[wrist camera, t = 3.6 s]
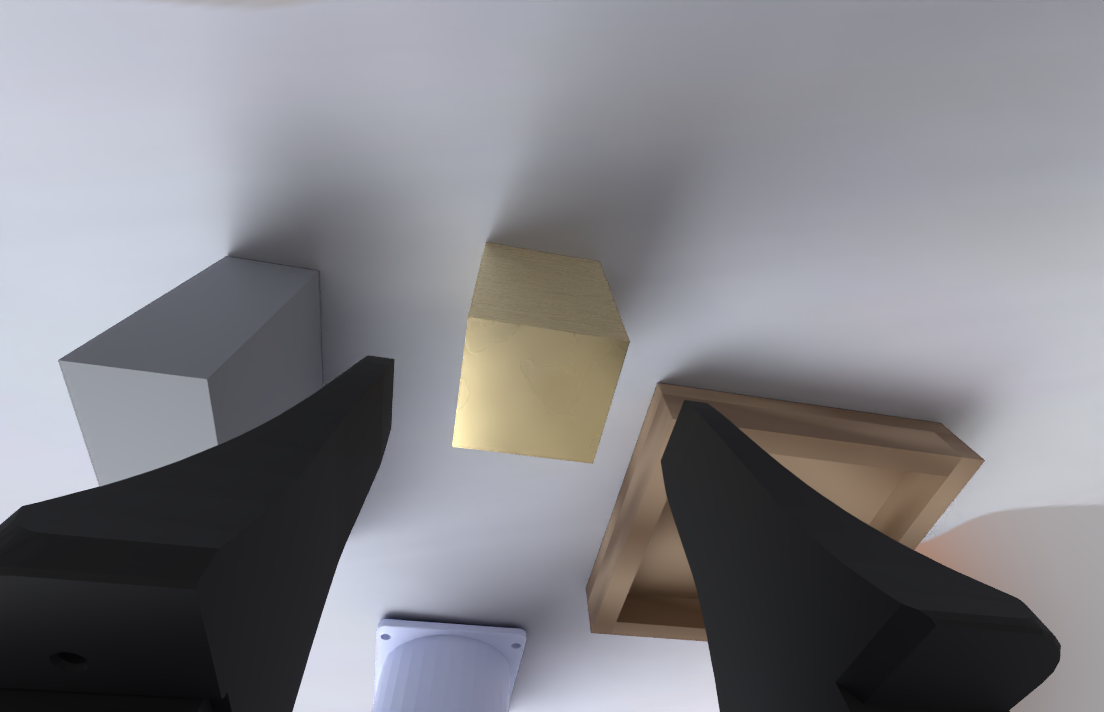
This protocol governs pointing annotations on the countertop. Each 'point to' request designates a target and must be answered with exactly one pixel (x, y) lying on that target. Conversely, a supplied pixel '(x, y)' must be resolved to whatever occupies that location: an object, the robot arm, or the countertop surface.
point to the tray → (805, 450)
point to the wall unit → (197, 366)
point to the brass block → (539, 356)
